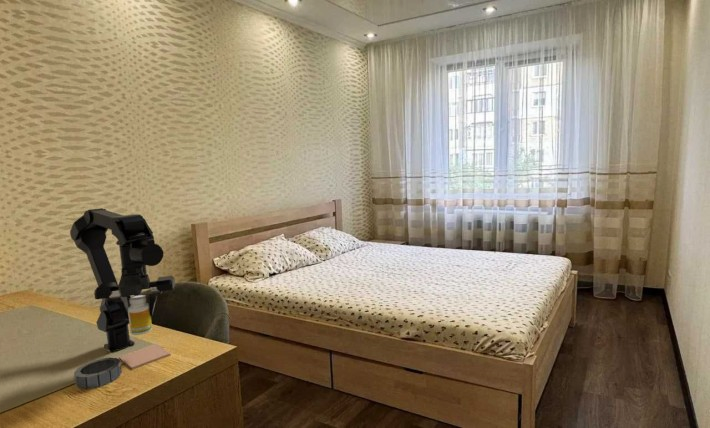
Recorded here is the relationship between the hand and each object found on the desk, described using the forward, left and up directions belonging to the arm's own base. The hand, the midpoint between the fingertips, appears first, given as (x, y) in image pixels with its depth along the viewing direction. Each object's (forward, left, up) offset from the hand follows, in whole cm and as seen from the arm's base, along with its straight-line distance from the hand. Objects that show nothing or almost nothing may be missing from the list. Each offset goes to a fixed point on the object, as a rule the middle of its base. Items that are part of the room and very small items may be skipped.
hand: (139, 317), depth 112 cm
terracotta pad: (0, 0, -11) cm, 11 cm away
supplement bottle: (0, 0, -4) cm, 4 cm away
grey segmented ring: (+3, -12, -11) cm, 17 cm away
